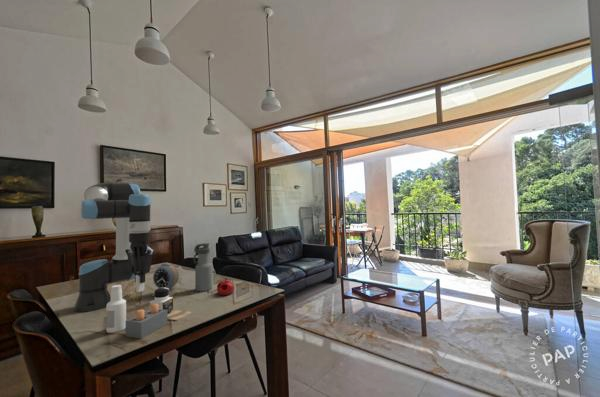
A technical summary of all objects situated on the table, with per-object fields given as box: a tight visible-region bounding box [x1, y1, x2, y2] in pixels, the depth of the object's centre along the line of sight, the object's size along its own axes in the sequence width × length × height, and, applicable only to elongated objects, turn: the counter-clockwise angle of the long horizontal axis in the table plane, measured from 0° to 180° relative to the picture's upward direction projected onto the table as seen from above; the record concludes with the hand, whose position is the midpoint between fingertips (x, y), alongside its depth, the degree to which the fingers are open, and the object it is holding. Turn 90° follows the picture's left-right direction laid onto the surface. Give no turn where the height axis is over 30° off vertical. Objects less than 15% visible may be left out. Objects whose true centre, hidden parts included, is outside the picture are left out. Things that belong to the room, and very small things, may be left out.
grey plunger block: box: [125, 309, 168, 339], centre depth 109 cm, size 8×13×6 cm, turn 163°
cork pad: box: [167, 309, 192, 322], centre depth 122 cm, size 9×9×1 cm
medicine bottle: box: [149, 288, 174, 314], centre depth 125 cm, size 7×7×12 cm
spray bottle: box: [105, 284, 127, 334], centre depth 110 cm, size 7×7×18 cm
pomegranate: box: [216, 277, 235, 296], centre depth 153 cm, size 10×10×9 cm
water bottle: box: [193, 242, 213, 292], centre depth 162 cm, size 10×10×28 cm
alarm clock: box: [151, 262, 182, 297], centre depth 155 cm, size 14×10×18 cm
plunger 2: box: [149, 303, 158, 314], centre depth 112 cm, size 3×3×6 cm
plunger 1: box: [135, 309, 145, 321], centre depth 105 cm, size 3×3×6 cm
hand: (140, 290), depth 106 cm, fingers closed
